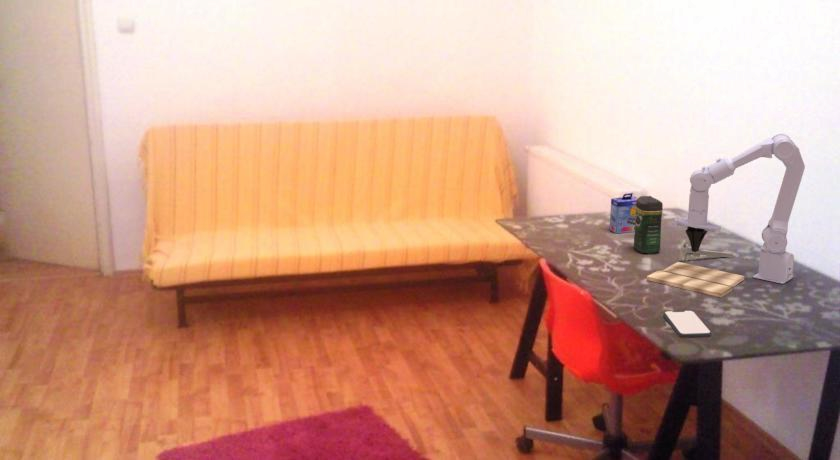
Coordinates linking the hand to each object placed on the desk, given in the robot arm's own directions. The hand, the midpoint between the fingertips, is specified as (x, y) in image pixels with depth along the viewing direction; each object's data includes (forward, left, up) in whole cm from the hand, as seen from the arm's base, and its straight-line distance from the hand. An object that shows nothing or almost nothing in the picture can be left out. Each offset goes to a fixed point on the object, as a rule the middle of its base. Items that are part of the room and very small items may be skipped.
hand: (695, 251), depth 278 cm
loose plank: (-4, +2, -7) cm, 8 cm away
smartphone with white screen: (-18, +41, -8) cm, 46 cm away
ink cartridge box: (+41, -28, -8) cm, 50 cm away
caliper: (+3, -16, -8) cm, 18 cm away
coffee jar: (+23, -12, -7) cm, 27 cm away
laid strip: (-4, +11, -7) cm, 14 cm away
